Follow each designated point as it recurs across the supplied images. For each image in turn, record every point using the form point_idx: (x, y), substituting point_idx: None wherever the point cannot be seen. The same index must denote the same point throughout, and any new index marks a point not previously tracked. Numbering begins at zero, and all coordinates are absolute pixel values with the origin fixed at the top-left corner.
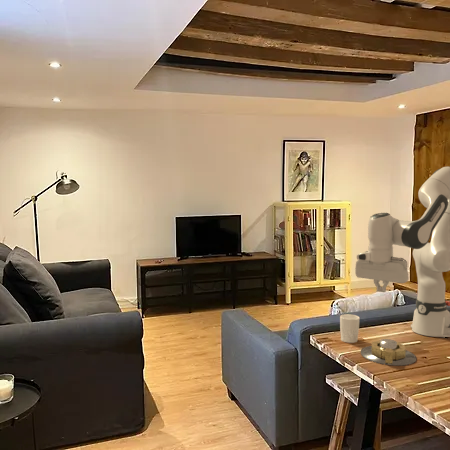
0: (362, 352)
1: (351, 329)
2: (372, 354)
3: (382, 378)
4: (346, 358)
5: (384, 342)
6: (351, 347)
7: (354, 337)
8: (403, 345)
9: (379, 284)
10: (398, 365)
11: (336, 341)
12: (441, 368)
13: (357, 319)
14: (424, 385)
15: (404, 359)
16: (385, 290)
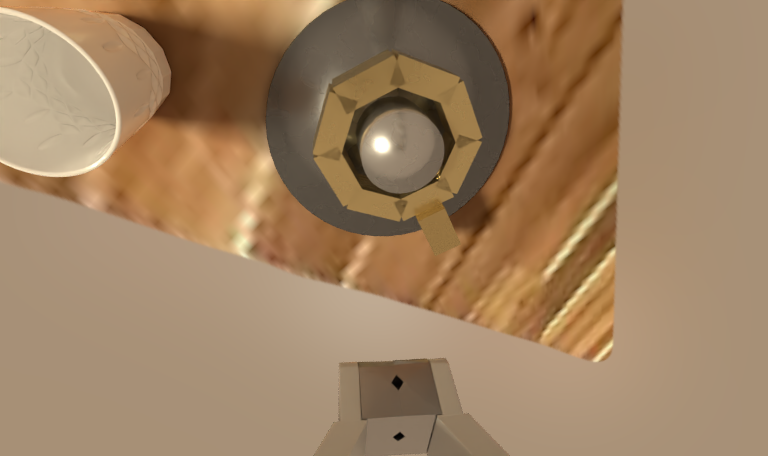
0: (299, 192)
1: (137, 130)
2: None
3: (454, 312)
4: (290, 272)
5: (393, 181)
6: (216, 159)
7: (161, 93)
8: (457, 85)
9: (353, 453)
10: (463, 202)
11: None
12: (605, 108)
13: (121, 112)
14: (562, 274)
15: None
16: (447, 375)
